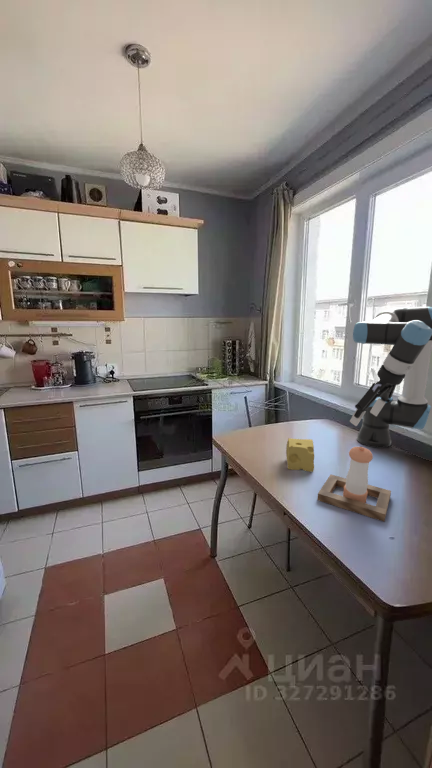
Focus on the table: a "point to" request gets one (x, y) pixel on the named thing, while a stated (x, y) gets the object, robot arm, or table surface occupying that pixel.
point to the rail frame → (354, 505)
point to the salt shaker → (358, 474)
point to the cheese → (300, 454)
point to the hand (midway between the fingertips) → (363, 418)
